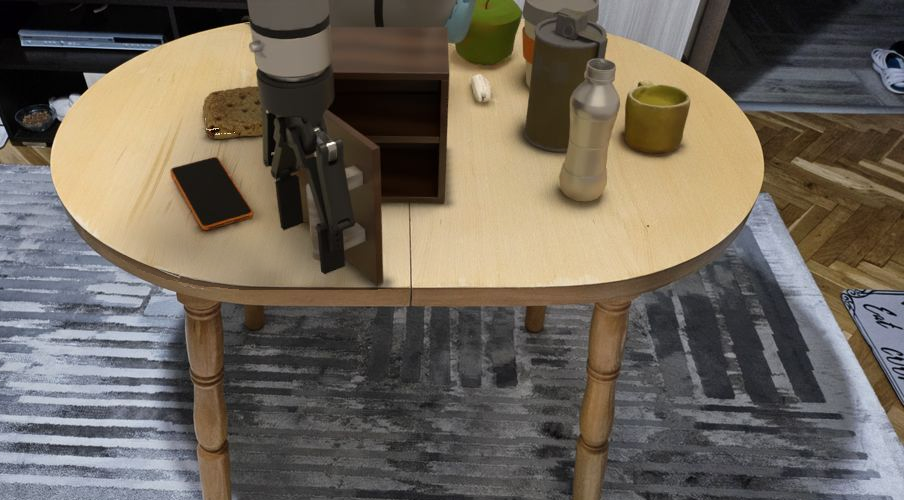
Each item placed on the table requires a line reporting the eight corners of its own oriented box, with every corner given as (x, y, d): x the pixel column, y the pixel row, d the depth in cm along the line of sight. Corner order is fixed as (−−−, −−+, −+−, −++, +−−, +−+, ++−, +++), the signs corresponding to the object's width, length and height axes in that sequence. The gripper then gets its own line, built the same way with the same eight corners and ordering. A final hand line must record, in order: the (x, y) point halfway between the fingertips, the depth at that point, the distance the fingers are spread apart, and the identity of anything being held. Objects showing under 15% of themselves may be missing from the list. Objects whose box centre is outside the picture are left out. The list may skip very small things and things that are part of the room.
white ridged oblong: (475, 106, 136) (475, 91, 134) (469, 84, 142) (469, 70, 140) (493, 106, 136) (494, 91, 134) (486, 84, 142) (487, 69, 140)
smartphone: (203, 232, 109) (202, 227, 109) (169, 173, 121) (168, 168, 120) (256, 216, 112) (255, 211, 111) (218, 160, 123) (217, 155, 123)
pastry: (174, 124, 132) (170, 107, 130) (246, 83, 143) (243, 67, 141) (253, 155, 125) (250, 138, 123) (323, 109, 135) (321, 93, 133)
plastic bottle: (593, 212, 113) (618, 80, 100) (549, 198, 116) (567, 68, 103) (610, 190, 117) (636, 61, 104) (567, 176, 120) (586, 49, 107)
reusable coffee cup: (579, 66, 147) (592, -16, 138) (594, 99, 138) (608, 13, 128) (511, 67, 147) (518, -15, 137) (521, 100, 138) (529, 14, 128)
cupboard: (444, 203, 115) (449, 73, 102) (290, 201, 115) (275, 71, 102) (443, 151, 125) (447, 27, 112) (302, 150, 126) (290, 26, 113)
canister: (510, 136, 129) (521, 14, 116) (548, 112, 134) (563, -7, 121) (567, 161, 123) (586, 35, 110) (604, 135, 129) (626, 13, 116)
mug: (700, 152, 121) (691, 88, 117) (630, 167, 124) (619, 105, 120) (689, 126, 132) (680, 67, 127) (625, 140, 134) (614, 82, 130)
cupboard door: (330, 308, 98) (319, 170, 85) (243, 222, 111) (222, 92, 98) (383, 283, 101) (380, 147, 88) (292, 202, 115) (278, 74, 102)
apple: (508, 42, 155) (513, -17, 148) (524, 70, 146) (530, 9, 139) (444, 46, 154) (446, -13, 147) (456, 74, 145) (459, 13, 138)
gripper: (213, 35, 84) (242, 211, 99) (314, 122, 70) (330, 311, 85) (277, 19, 87) (296, 191, 102) (386, 99, 73) (390, 285, 88)
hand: (312, 246), depth 93 cm, fingers open, 9 cm apart
